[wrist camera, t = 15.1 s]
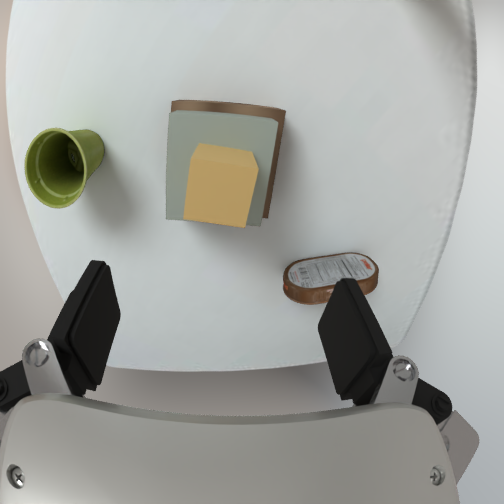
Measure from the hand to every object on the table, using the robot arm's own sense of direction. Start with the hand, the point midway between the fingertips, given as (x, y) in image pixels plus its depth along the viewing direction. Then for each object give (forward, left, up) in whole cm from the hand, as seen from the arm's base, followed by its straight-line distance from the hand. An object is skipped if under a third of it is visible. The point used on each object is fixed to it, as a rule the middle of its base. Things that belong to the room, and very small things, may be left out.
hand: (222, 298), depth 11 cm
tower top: (+1, 0, -21) cm, 21 cm away
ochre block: (0, 0, -17) cm, 17 cm away
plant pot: (+19, 0, -26) cm, 33 cm away
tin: (-17, +15, -26) cm, 35 cm away
